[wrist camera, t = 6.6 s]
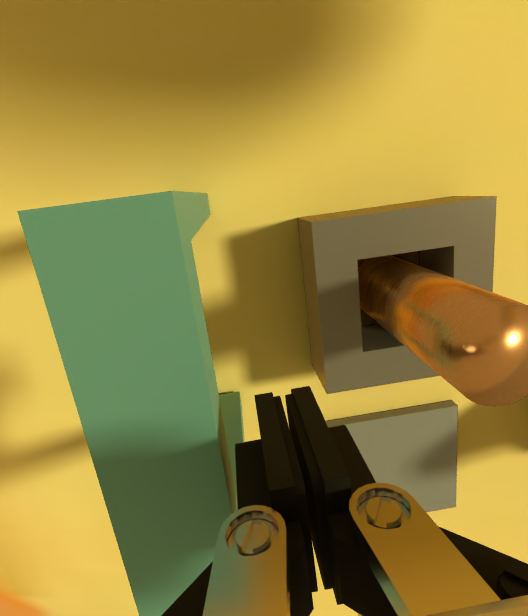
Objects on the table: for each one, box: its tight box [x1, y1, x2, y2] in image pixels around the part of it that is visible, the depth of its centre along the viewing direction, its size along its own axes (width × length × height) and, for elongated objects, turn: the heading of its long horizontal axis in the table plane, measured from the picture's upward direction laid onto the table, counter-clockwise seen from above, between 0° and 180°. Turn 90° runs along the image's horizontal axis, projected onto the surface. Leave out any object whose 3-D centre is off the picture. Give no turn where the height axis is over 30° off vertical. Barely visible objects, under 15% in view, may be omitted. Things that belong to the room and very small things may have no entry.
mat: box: [325, 400, 458, 512], centre depth 29 cm, size 10×9×1 cm
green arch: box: [17, 191, 244, 616], centre depth 17 cm, size 3×14×16 cm, turn 7°
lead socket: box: [298, 196, 497, 394], centre depth 24 cm, size 10×10×4 cm
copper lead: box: [358, 255, 528, 406], centre depth 20 cm, size 4×4×12 cm
